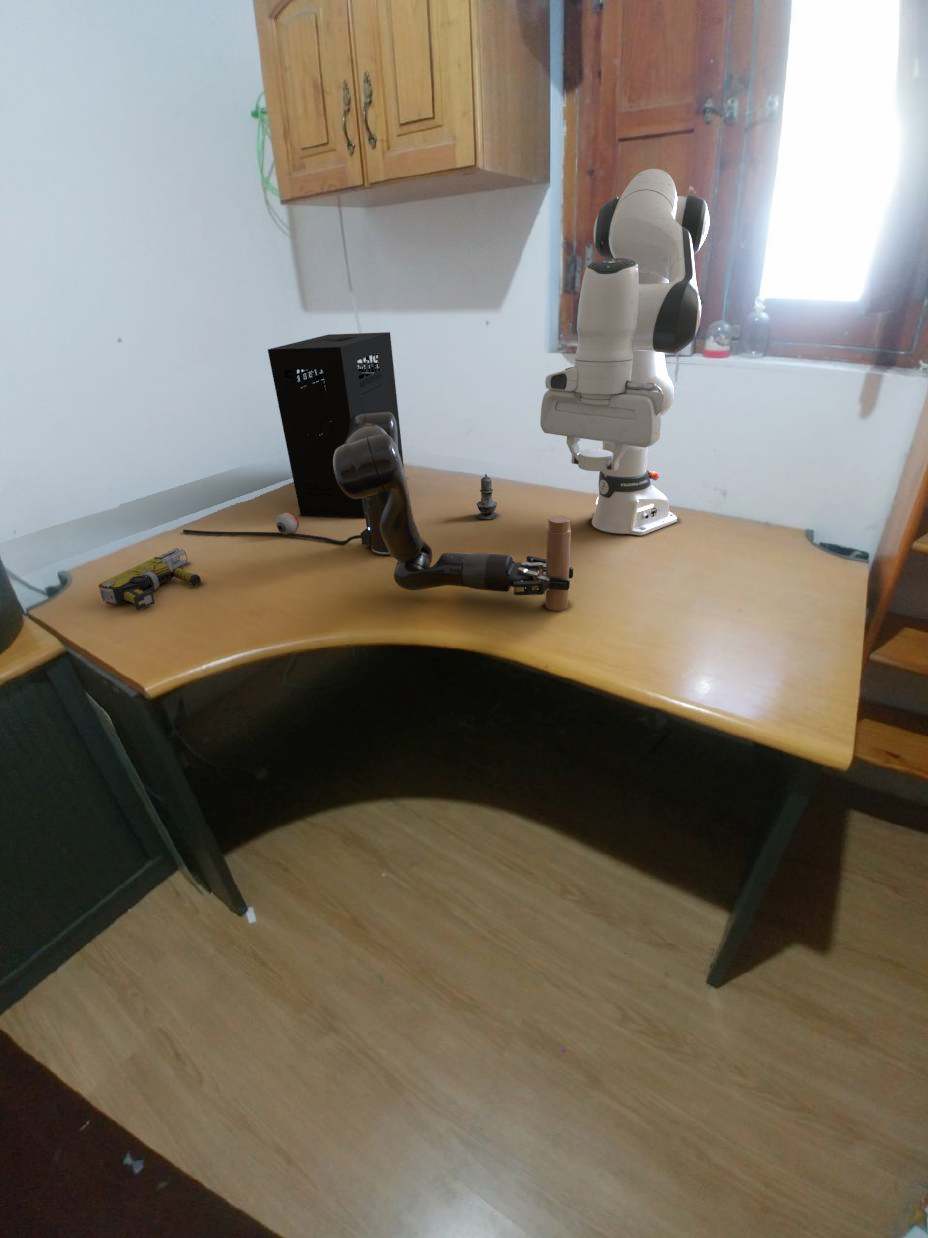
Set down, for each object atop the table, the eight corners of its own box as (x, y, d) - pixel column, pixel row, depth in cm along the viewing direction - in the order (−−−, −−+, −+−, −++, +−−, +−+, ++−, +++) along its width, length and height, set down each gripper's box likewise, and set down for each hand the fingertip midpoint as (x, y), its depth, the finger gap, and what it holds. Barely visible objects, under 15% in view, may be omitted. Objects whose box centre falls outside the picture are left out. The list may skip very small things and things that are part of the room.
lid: (571, 467, 101) (572, 454, 100) (588, 460, 105) (589, 447, 104) (601, 473, 98) (602, 459, 97) (617, 465, 102) (618, 451, 100)
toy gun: (224, 556, 146) (173, 545, 150) (148, 597, 126) (92, 584, 130) (226, 573, 148) (177, 563, 152) (152, 617, 128) (97, 603, 132)
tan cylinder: (566, 599, 125) (569, 514, 116) (569, 610, 121) (573, 522, 112) (544, 600, 125) (545, 515, 116) (546, 611, 121) (548, 523, 112)
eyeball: (273, 537, 164) (268, 516, 161) (287, 528, 169) (282, 508, 166) (291, 539, 161) (286, 518, 158) (305, 530, 166) (301, 510, 163)
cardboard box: (364, 517, 173) (340, 346, 151) (300, 515, 178) (267, 349, 155) (404, 478, 205) (390, 332, 182) (349, 476, 209) (328, 334, 187)
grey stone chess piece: (496, 519, 166) (494, 477, 160) (475, 519, 167) (473, 476, 161) (499, 512, 171) (498, 470, 165) (478, 511, 172) (477, 470, 166)
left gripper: (477, 570, 116) (566, 577, 111) (495, 541, 128) (576, 547, 123) (479, 604, 120) (565, 612, 115) (496, 573, 132) (575, 579, 127)
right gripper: (674, 381, 91) (661, 472, 98) (557, 372, 102) (553, 453, 109) (656, 386, 87) (644, 481, 93) (536, 376, 98) (533, 461, 105)
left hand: (570, 578), depth 119 cm, fingers closed on tan cylinder, 4 cm apart
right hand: (594, 466), depth 101 cm, fingers closed on lid, 5 cm apart
